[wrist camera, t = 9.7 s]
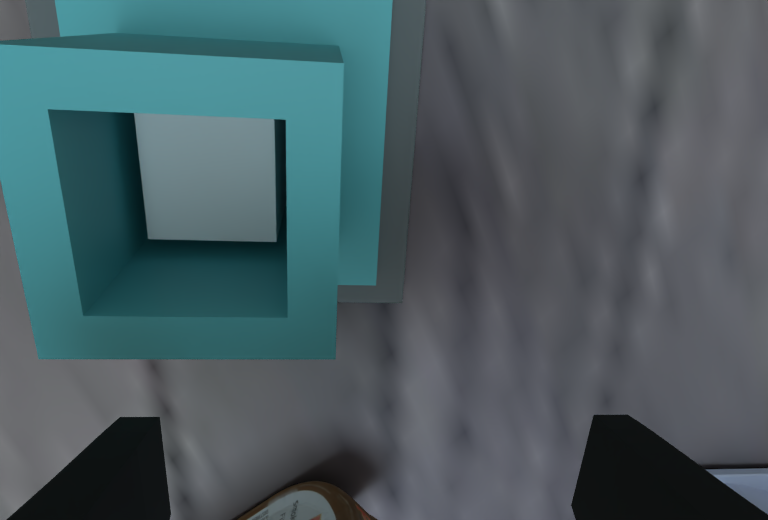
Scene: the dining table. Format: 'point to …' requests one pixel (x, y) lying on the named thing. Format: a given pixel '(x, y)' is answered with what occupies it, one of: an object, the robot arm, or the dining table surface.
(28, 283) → the flange
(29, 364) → the dining table surface
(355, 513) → the tin
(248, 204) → the post block
